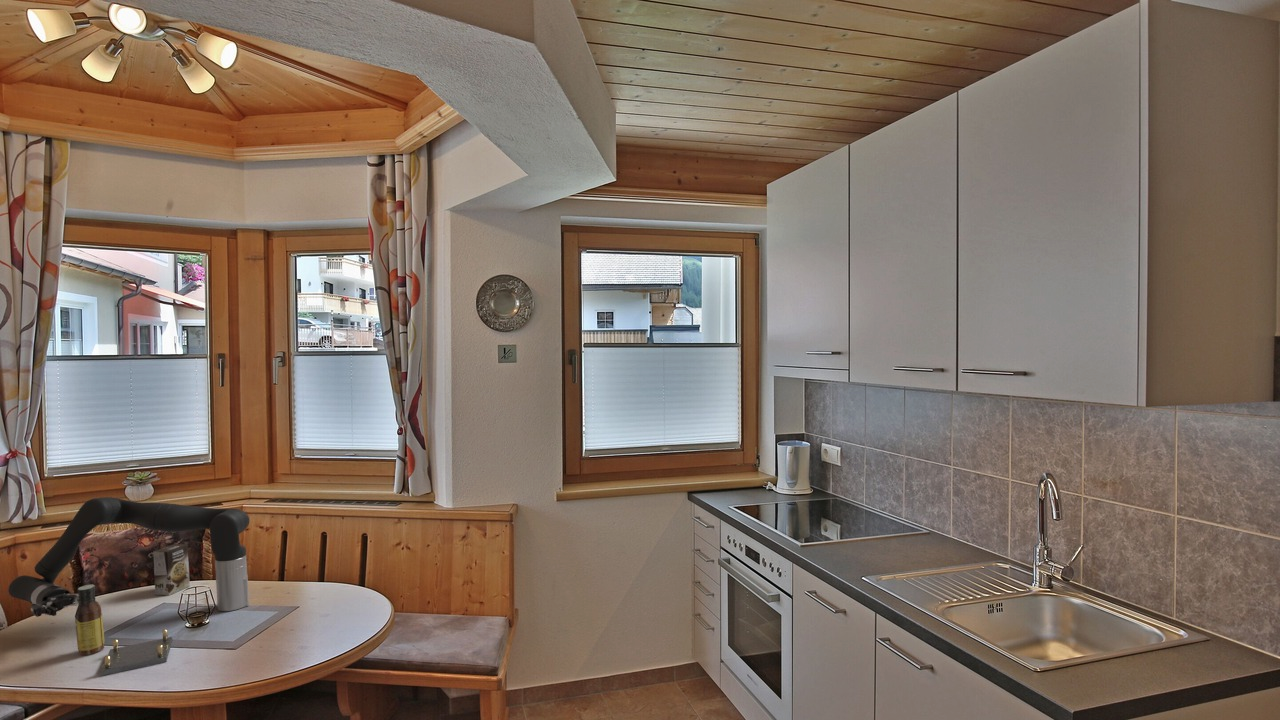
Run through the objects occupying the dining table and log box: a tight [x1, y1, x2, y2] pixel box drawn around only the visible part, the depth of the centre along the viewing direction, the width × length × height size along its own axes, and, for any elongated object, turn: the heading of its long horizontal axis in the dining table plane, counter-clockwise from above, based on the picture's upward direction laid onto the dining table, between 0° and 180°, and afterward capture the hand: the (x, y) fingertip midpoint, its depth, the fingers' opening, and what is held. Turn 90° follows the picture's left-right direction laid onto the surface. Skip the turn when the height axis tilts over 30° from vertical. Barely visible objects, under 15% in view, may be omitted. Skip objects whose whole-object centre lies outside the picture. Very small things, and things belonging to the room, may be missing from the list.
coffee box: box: [152, 543, 191, 596], centre depth 249 cm, size 9×6×16 cm
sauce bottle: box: [74, 584, 105, 656], centre depth 201 cm, size 6×6×20 cm
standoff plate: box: [99, 628, 173, 677], centre depth 197 cm, size 15×15×4 cm
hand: (72, 607), depth 207 cm, fingers open, 8 cm apart
